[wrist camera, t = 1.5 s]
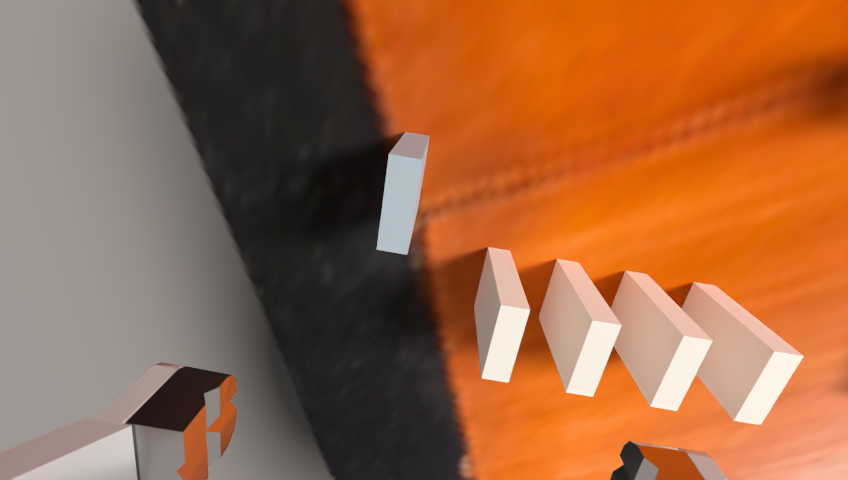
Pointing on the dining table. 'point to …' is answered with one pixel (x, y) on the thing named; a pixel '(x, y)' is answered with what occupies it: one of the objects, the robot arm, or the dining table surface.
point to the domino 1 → (402, 192)
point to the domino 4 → (657, 341)
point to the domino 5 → (739, 355)
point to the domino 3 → (577, 327)
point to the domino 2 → (499, 315)
